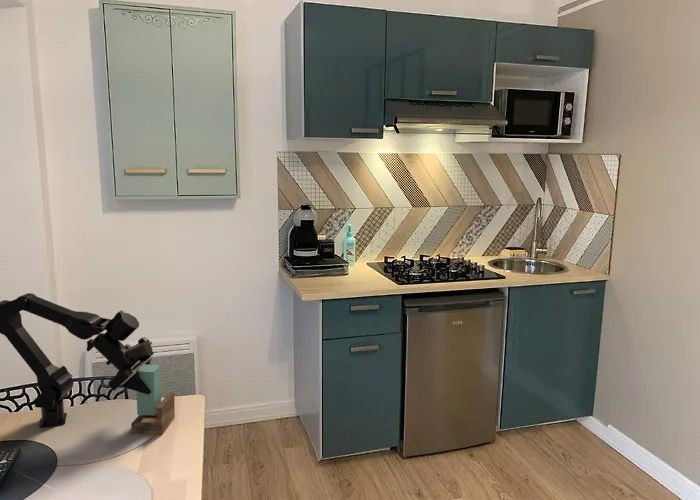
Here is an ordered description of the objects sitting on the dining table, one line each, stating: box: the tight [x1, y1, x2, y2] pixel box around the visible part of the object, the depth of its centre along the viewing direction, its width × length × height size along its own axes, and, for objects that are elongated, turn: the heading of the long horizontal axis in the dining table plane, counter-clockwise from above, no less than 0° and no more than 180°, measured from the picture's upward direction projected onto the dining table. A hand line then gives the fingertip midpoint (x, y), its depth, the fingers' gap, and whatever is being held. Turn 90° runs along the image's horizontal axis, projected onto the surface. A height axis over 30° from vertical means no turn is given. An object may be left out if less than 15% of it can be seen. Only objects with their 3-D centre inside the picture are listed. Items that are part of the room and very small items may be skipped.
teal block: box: [135, 364, 162, 416], centre depth 155 cm, size 5×5×13 cm
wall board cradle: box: [130, 391, 176, 436], centre depth 156 cm, size 9×10×8 cm
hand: (153, 389), depth 154 cm, fingers closed on teal block, 5 cm apart
